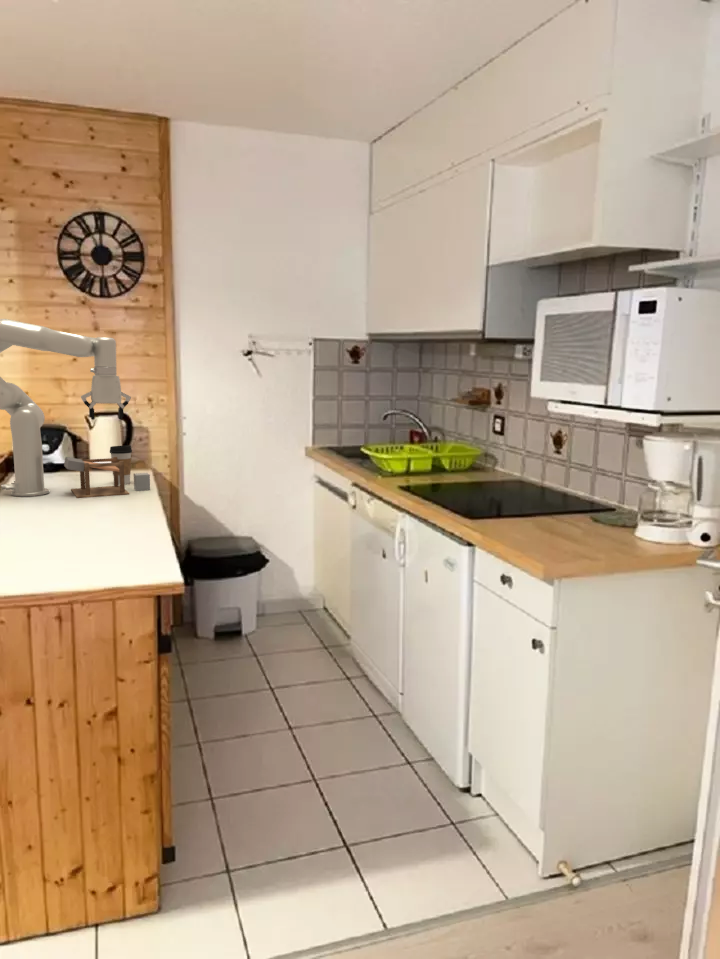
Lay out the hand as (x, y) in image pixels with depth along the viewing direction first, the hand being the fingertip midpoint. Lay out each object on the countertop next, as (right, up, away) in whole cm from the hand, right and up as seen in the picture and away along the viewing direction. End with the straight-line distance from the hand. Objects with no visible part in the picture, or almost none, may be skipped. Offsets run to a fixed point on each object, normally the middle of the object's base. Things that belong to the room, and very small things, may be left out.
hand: (106, 419), depth 273 cm
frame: (-3, -27, +3) cm, 27 cm away
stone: (+10, -20, +9) cm, 24 cm away
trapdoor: (-6, -19, 0) cm, 20 cm away
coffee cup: (-2, -24, +23) cm, 33 cm away
